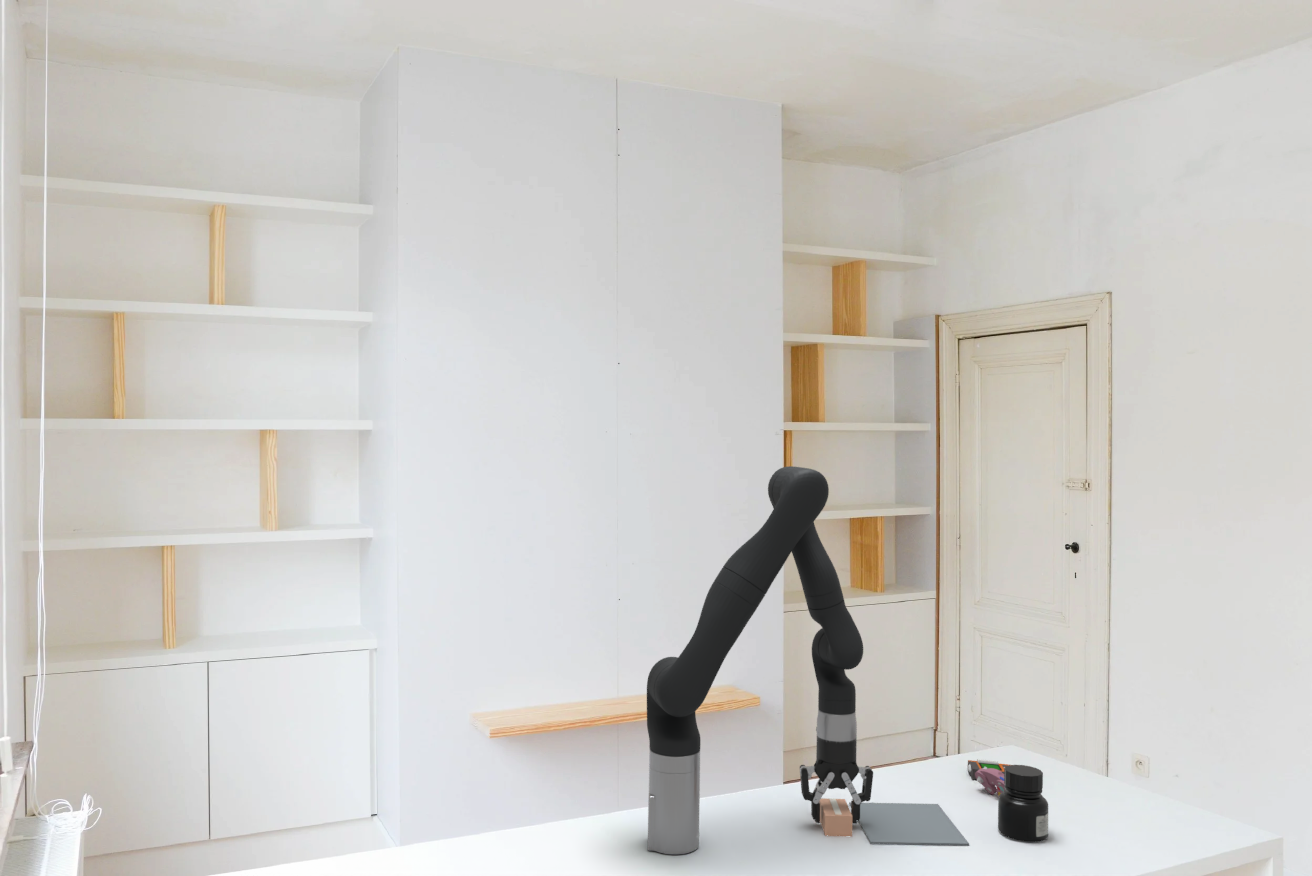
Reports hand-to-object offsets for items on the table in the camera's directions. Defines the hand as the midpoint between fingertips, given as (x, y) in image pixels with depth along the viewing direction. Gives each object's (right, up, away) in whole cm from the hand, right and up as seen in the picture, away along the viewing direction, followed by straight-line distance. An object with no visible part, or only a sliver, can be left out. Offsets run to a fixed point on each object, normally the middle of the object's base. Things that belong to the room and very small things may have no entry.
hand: (835, 821), depth 185 cm
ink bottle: (+35, -2, -2) cm, 35 cm away
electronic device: (+43, -3, +30) cm, 52 cm away
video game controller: (+38, -2, +18) cm, 42 cm away
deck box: (0, -1, 0) cm, 1 cm away
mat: (+14, -1, +2) cm, 14 cm away
